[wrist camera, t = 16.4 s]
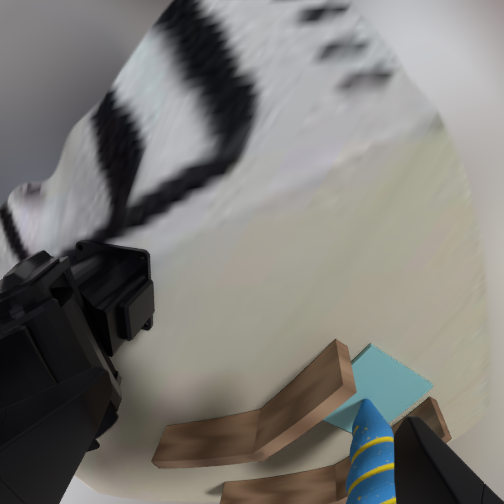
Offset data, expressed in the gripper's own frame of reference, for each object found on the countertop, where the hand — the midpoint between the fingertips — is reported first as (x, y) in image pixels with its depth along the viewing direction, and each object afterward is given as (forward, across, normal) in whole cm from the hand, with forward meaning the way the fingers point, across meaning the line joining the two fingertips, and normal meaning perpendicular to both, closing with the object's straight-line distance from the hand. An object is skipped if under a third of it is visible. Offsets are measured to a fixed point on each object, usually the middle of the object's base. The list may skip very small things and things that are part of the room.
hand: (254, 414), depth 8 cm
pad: (+13, -10, +12) cm, 20 cm away
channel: (+13, -4, +18) cm, 23 cm away
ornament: (+13, -9, +12) cm, 20 cm away
